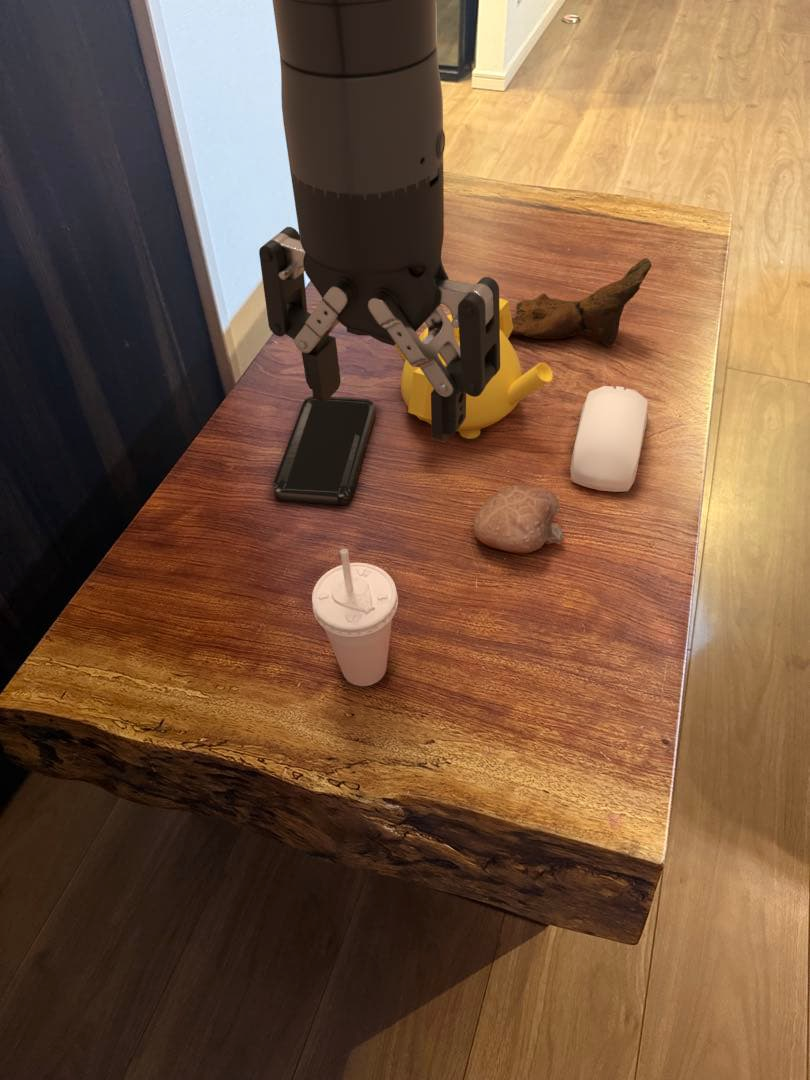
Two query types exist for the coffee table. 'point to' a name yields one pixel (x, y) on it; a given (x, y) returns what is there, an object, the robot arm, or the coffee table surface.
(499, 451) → the coffee table surface
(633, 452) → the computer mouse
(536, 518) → the mushroom
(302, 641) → the coffee table surface
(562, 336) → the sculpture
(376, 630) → the smoothie
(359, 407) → the phone
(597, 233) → the coffee table surface
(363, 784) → the coffee table surface
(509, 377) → the teapot
